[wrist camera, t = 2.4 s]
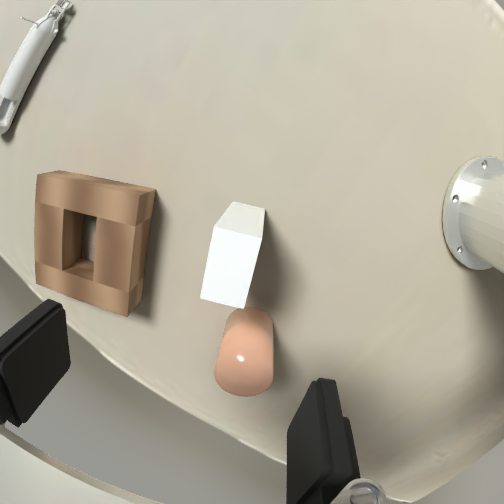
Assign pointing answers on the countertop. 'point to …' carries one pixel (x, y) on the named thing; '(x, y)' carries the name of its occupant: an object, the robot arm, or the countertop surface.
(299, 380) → the countertop surface
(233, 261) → the flat bar peg
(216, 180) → the countertop surface
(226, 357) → the round peg
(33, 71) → the white long slotted part
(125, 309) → the slot block
